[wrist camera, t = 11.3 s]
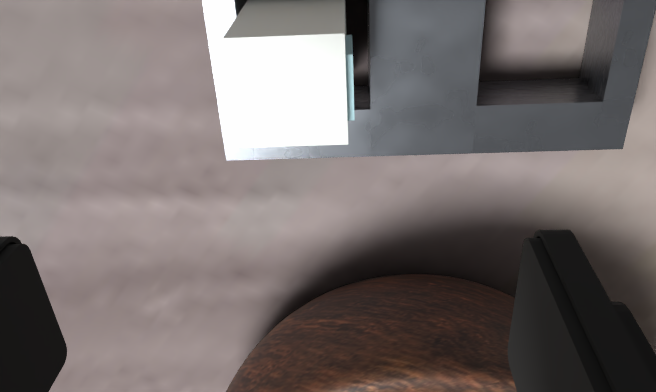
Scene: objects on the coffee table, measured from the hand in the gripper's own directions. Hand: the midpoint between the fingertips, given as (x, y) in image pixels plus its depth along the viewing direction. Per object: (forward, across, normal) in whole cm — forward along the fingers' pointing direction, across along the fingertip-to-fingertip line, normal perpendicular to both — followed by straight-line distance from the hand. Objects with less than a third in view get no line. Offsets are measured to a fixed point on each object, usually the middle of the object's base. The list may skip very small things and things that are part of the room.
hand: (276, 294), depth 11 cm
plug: (+18, +1, 0) cm, 18 cm away
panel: (+18, -4, 0) cm, 19 cm away
